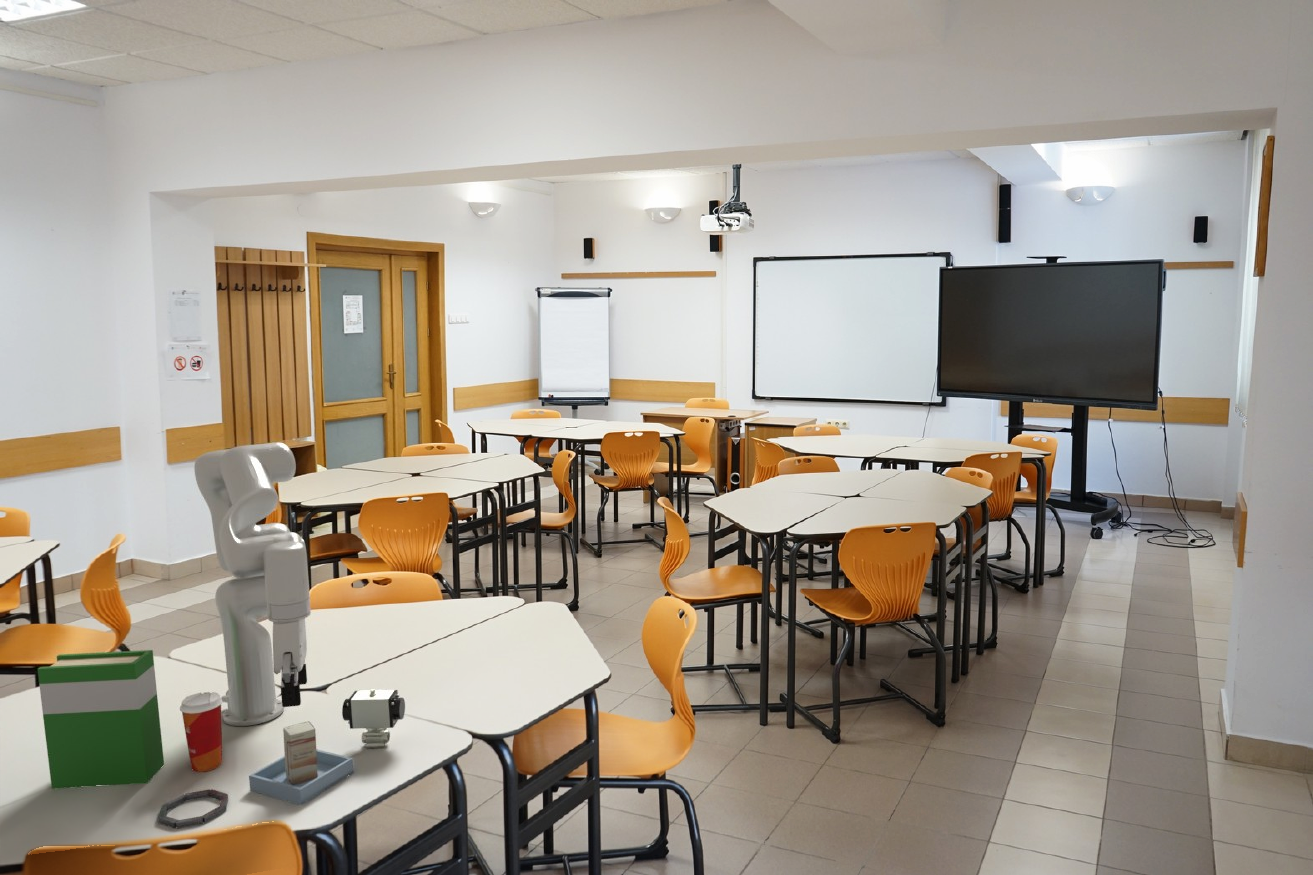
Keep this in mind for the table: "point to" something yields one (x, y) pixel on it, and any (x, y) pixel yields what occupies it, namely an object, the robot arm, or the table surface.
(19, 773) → the table surface
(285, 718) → the table surface
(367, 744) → the pneumatic valve
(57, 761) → the hardback book
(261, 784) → the tray
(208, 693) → the paper cup
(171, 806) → the collar
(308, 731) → the skincare box
